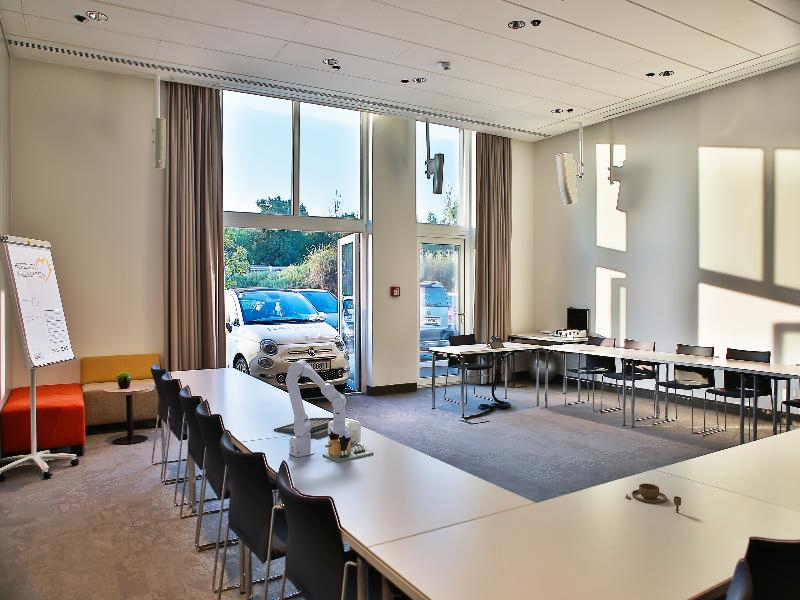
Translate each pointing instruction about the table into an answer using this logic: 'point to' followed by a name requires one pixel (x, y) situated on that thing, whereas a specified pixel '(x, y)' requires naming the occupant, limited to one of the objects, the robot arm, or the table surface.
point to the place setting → (653, 495)
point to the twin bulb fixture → (344, 455)
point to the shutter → (316, 424)
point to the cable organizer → (350, 430)
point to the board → (351, 455)
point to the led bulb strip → (359, 449)
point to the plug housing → (336, 447)
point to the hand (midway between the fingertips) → (339, 450)
